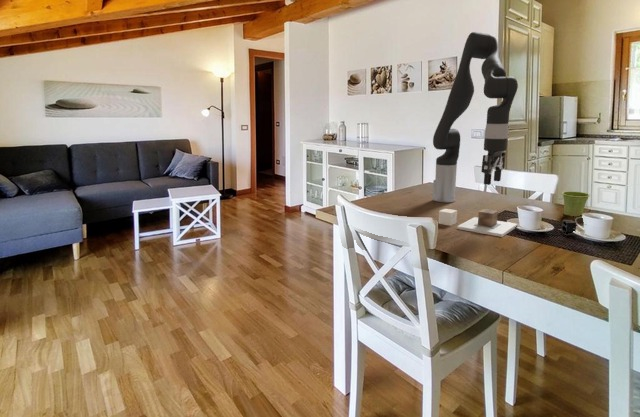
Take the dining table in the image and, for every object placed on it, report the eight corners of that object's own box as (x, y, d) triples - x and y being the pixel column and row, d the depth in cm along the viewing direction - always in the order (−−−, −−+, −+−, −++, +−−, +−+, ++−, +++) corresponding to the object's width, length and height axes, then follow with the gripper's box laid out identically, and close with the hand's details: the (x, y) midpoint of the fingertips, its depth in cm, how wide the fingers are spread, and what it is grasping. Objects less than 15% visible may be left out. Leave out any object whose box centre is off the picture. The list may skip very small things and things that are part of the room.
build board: (457, 228, 153) (457, 225, 153) (474, 219, 164) (474, 216, 164) (502, 237, 142) (502, 233, 142) (517, 226, 154) (517, 223, 154)
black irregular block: (550, 228, 153) (552, 216, 152) (572, 229, 151) (574, 216, 150) (563, 239, 141) (565, 226, 140) (587, 239, 140) (589, 226, 138)
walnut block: (477, 224, 153) (478, 211, 152) (483, 221, 157) (483, 208, 155) (491, 227, 150) (492, 213, 149) (496, 224, 153) (497, 210, 152)
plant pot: (591, 218, 163) (594, 196, 161) (564, 217, 164) (567, 196, 162) (581, 212, 172) (583, 191, 169) (556, 211, 173) (558, 191, 171)
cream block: (438, 223, 160) (439, 211, 159) (444, 220, 164) (444, 208, 163) (450, 226, 157) (451, 213, 156) (456, 223, 161) (457, 210, 159)
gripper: (498, 138, 138) (494, 187, 142) (514, 135, 148) (510, 181, 152) (476, 137, 143) (473, 184, 147) (493, 134, 153) (490, 178, 157)
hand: (492, 182), depth 150 cm, fingers open, 8 cm apart
